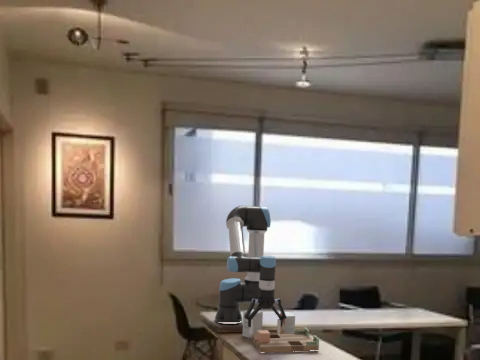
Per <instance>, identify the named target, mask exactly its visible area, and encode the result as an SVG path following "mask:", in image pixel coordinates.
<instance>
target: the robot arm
mask: <svg viewBox="0 0 480 360" xmlns="http://www.w3.org/2000/svg"><path fill="white" fill-rule="evenodd" d="M225 223H226V224H225V225H226V228H227V229H228V236H229V237H228V239H229V251H230V256H228V257H227V261H226V268H227V271H228V272H229V273H247V275H246V276H245V277H244V281H242V280H241V279H240V278H234V277H233V278H231V277H230V278H227V279H226V278H225V279H223V280H221V281H220V283H219V288H218V291H219V292H218V293H219V295H218V296H219V297H218V299H219V300H218V308H217V311H216V313H215V317H214V322H215V321H216V322H215V323H217V322H240V321H242V322H243V315H242V312H241V309H240V304H249V306H248V309H247V310H246V311H247V312H246V314H245V316H244V317H245V319H248V327H250V332H249V333H250V334H251V335H252V331H253V320H252V318H253V317H254V316H255V315H256V314H257V313H258V311H262V309H264V310H265V309H267V310H270V309H272V311H273V312H274V314H275V315H276V316H277V317H278V318H277V323H276V324H277V325H276V334H281V333H280V327H282V322H283V319H286V318H287V317H286V315H285V312H286V311H285V310H284V308H283V306H282V302H281V301H282V300H281V299H280V298H275V291H276V290H275V286H276V285H275V284H276V269H277V268H276V266H277V261H276V257H275V256H272V255H265V253H264V252H265V251H264V250H265V249H264V248H265V234H266V233H267V231H268V228H270V227H271V223H272V220H271V213H270V209H269V208H268V207H266V206H263V205H262V206H261V205H238V206H236V207H234V208H233V209H231V210H230V212H229V213H228V215H227V217H226V220H225ZM244 227H246V231H247V232H248V251H247V252H248V254H247V256H246V248H245V239H244V238H245V237H244V231H243V228H244ZM275 303H276V304H277V306H278V309H279V311H280V312H281V314H282V316H281V315H280V312H279V311H278V310H277V308H276V307H275V306H274V304H275ZM255 305H256V307H255ZM254 308H255V309H254ZM252 309H254V311H253V312H252V313H251V311H252ZM250 313H251V314H250ZM249 315H250V316H249Z"/></svg>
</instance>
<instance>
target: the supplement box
mask: <svg viewBox="0 0 480 360" xmlns="http://www.w3.org/2000/svg"><path fill="white" fill-rule="evenodd" d="M254 310H255V309H254V308H253V309H252V311H251V313H252V312H253V311H254ZM246 312H247V310H244V311H243V314H242V337H245V338H248V339H251V340H252V335H253V334H257V330H263V319H264V318H263V315H264V313H263V311H262V310H259V311H258V313H257V314H256V315H255V316H254V317H253V318H252V320H253V331H252V335H251V334H250V333H249V332H250V327H248V319H245V317H244V316H245V314H246ZM251 313H250V314H251ZM249 316H250V315H249Z"/></svg>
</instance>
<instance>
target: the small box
mask: <svg viewBox="0 0 480 360" xmlns="http://www.w3.org/2000/svg"><path fill="white" fill-rule="evenodd" d="M284 312H285V315H286V317H287V318H286V319H283V322H282V327H280V334H294V331H296V329H295V328H296V327H295V326H296V316H295V315H294V314H293V313H292V312H289V311H284ZM279 314H280V315H281V316H282V314H281V311H280V312H279Z"/></svg>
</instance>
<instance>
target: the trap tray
mask: <svg viewBox="0 0 480 360" xmlns="http://www.w3.org/2000/svg"><path fill="white" fill-rule="evenodd" d="M251 342H252V344H253V345H254V346H255V348H256V349H257V350H258V351H259V353H260V352H285V353H296V352H295V351H310V350H319V349H320V338H319V337H318V336H317V335H316V334H315V335H314V334H313V336H312V338H311V337H310V329H308V328H307V327H304V328H303V330H294V334H281V333H280V334H278V333H270V342H259V341H258V339H257V334H253V335H252V339H251ZM293 351H294V352H293Z"/></svg>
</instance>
